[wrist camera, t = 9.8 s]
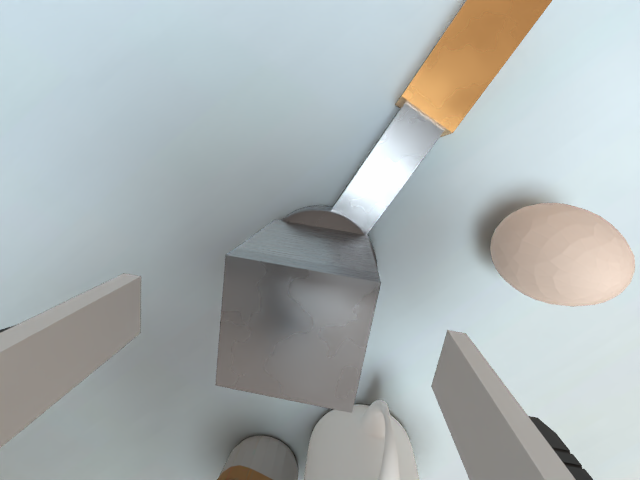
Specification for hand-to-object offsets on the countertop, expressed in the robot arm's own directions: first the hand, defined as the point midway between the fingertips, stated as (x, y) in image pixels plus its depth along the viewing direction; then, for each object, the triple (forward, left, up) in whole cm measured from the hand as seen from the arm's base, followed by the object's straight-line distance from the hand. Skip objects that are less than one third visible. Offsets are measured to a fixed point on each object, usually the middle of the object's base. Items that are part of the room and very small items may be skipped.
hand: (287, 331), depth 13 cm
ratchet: (+4, +7, -10) cm, 13 cm away
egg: (+13, +4, -10) cm, 17 cm away
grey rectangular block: (0, 0, -7) cm, 7 cm away
